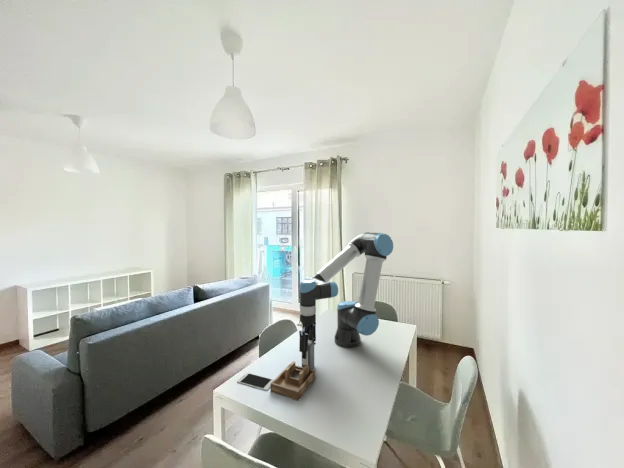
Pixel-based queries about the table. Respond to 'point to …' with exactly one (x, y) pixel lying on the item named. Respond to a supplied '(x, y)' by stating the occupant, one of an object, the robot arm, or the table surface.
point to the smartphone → (256, 381)
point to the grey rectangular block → (310, 354)
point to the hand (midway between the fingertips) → (308, 360)
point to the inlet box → (293, 381)
